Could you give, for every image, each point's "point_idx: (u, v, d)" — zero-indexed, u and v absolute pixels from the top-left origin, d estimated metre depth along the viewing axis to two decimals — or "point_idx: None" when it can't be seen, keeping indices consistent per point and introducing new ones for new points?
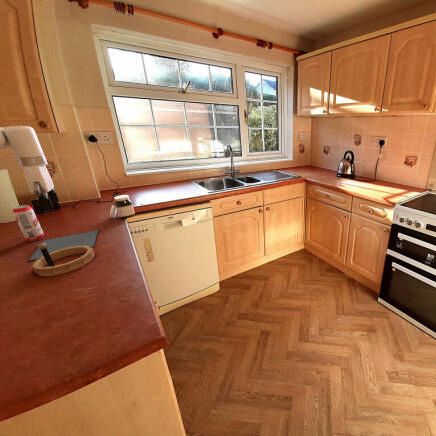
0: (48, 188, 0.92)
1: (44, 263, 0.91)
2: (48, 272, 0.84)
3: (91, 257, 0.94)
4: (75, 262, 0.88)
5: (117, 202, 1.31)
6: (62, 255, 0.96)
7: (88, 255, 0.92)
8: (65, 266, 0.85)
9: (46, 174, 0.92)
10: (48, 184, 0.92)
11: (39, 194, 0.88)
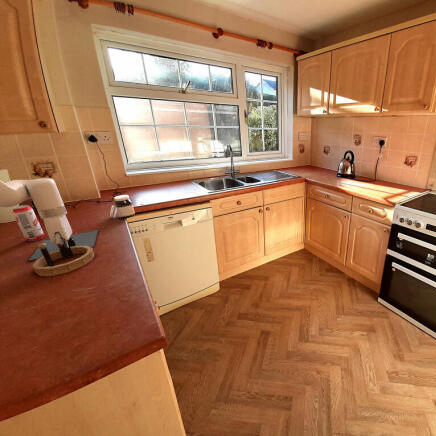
0: (67, 236, 0.93)
1: (44, 263, 0.91)
2: (48, 272, 0.84)
3: (91, 257, 0.94)
4: (75, 262, 0.88)
5: (117, 202, 1.31)
6: None
7: (88, 255, 0.92)
8: (65, 266, 0.85)
9: (65, 222, 0.94)
10: (67, 232, 0.94)
11: (61, 246, 0.91)
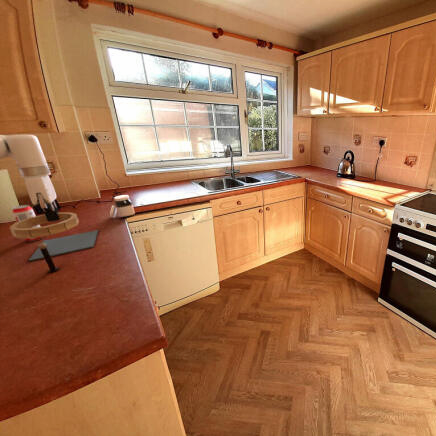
0: (51, 199, 0.88)
1: (23, 227, 0.85)
2: (27, 234, 0.78)
3: (75, 223, 0.88)
4: (57, 225, 0.82)
5: (117, 202, 1.31)
6: (44, 221, 0.90)
7: (71, 220, 0.86)
8: (45, 229, 0.80)
9: (49, 184, 0.88)
10: (51, 195, 0.88)
11: (46, 208, 0.87)
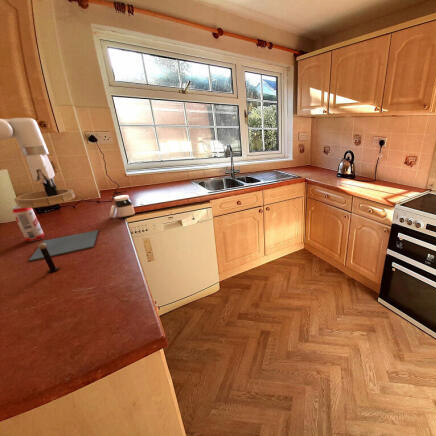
0: (49, 176, 0.99)
1: None
2: (29, 204, 0.90)
3: (71, 196, 1.00)
4: (55, 197, 0.94)
5: (117, 202, 1.31)
6: (44, 196, 1.02)
7: (68, 194, 0.98)
8: (44, 199, 0.91)
9: (47, 163, 1.00)
10: (49, 172, 1.00)
11: (46, 183, 0.99)
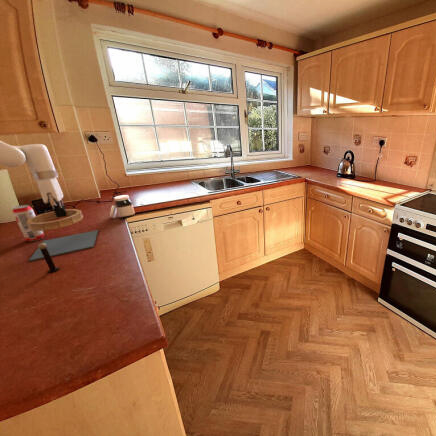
0: (59, 198, 1.04)
1: (37, 222, 1.01)
2: (41, 227, 0.94)
3: (80, 218, 1.04)
4: (65, 220, 0.98)
5: (117, 202, 1.31)
6: (54, 217, 1.07)
7: (77, 215, 1.03)
8: (55, 222, 0.96)
9: (57, 186, 1.04)
10: (59, 194, 1.04)
11: (55, 205, 1.04)
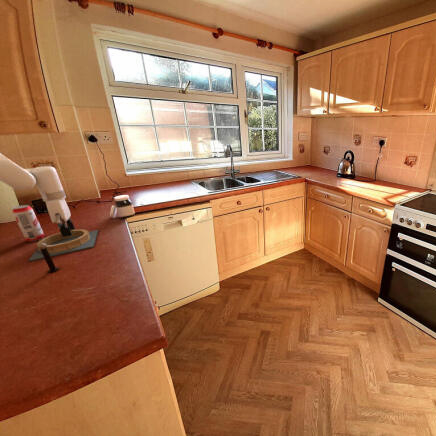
0: (66, 218, 1.07)
1: (46, 243, 1.05)
2: (50, 250, 0.98)
3: (87, 238, 1.08)
4: (73, 242, 1.02)
5: (117, 202, 1.31)
6: (62, 237, 1.10)
7: (84, 236, 1.06)
8: (64, 245, 1.00)
9: (65, 205, 1.07)
10: (66, 214, 1.08)
11: (61, 225, 1.04)
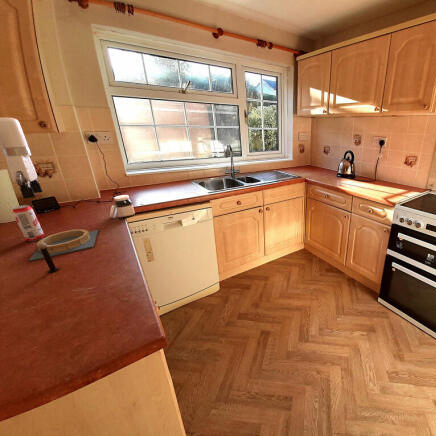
0: (31, 178, 0.95)
1: (46, 243, 1.05)
2: (50, 250, 0.98)
3: (87, 238, 1.08)
4: (73, 242, 1.02)
5: (117, 202, 1.31)
6: (62, 237, 1.10)
7: (84, 236, 1.06)
8: (64, 245, 1.00)
9: (29, 164, 0.96)
10: (31, 174, 0.96)
11: (21, 183, 0.91)
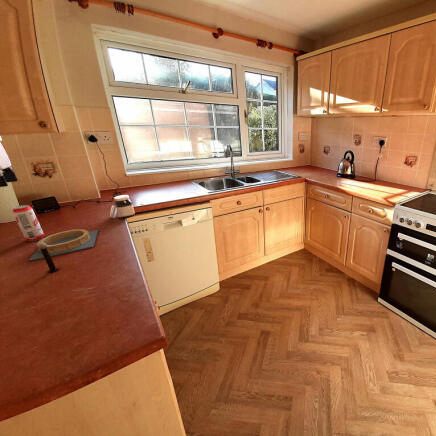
0: (2, 165, 0.88)
1: (46, 243, 1.05)
2: (50, 250, 0.98)
3: (87, 238, 1.08)
4: (73, 242, 1.02)
5: (117, 202, 1.31)
6: (62, 237, 1.10)
7: (84, 236, 1.06)
8: (64, 245, 1.00)
9: (0, 151, 0.89)
10: (2, 161, 0.89)
11: None
